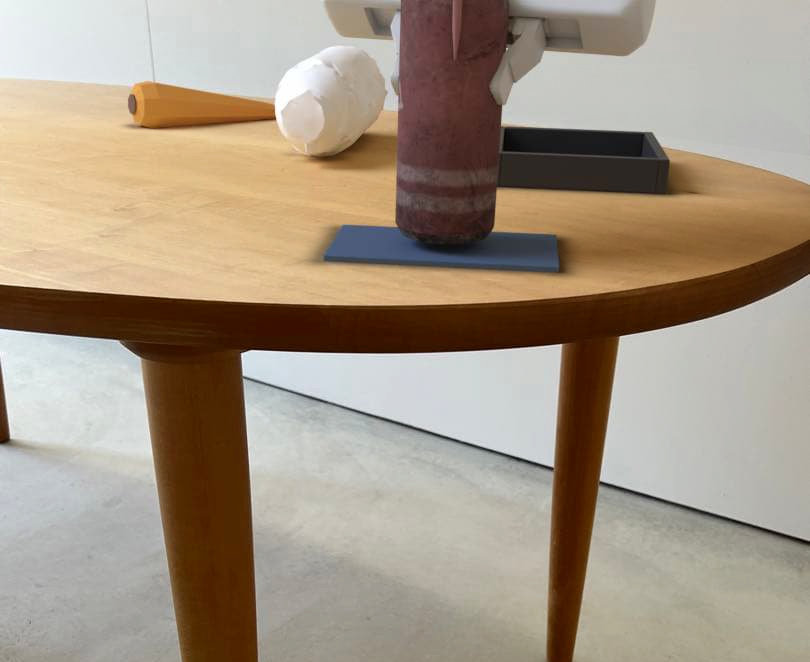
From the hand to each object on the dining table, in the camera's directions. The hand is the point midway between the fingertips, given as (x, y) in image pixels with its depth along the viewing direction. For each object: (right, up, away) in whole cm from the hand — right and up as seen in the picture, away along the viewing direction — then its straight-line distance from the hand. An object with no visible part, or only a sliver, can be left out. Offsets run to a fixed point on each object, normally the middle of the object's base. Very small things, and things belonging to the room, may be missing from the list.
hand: (446, 93), depth 64 cm
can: (0, -7, +5) cm, 8 cm away
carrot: (-20, +16, +48) cm, 55 cm away
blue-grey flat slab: (0, -8, +5) cm, 9 cm away
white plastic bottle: (-9, +9, +36) cm, 38 cm away
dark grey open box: (+12, +4, +28) cm, 31 cm away
